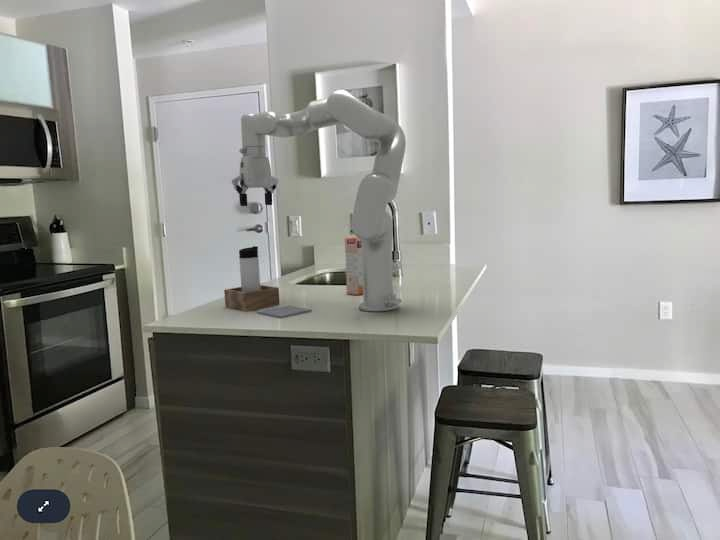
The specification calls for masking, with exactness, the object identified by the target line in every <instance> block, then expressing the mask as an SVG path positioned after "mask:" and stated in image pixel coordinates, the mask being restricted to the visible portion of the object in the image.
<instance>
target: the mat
mask: <svg viewBox="0 0 720 540" xmlns="http://www.w3.org/2000/svg"><path fill="white" fill-rule="evenodd" d="M312 310H313V309H310V308H306V307H300V306H293V305H289V304H288V305H283V306H279V307H273V308H270V309H269V308H268V309H266V310H259V311H257V314H258V315H264V316H268V317H273V318H277V319H278V318H279V319H284V318H288V317H292V316H297V315H302V314H307V313H311V312H313V311H312Z"/></svg>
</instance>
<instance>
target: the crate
mask: <svg viewBox="0 0 720 540" xmlns="http://www.w3.org/2000/svg"><path fill="white" fill-rule="evenodd" d="M260 289H261V290H259V291H253V292H247V293H246V292H242V289H241V286H238V287H233V288H231V287H230V288H225V289H224V303H225V308H227V307H229V308H228V309H232V308H233V309H232V310H236V311H238V310H239V311H242V312H246V313H248V312H252V311H253V312H254V311H257V310H262V309H266V308H268V309H269V308H272V307H273V308H274V307H276V306H281V303H280V290H279V287H277V286H270V285H263V284H260Z"/></svg>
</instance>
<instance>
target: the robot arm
mask: <svg viewBox="0 0 720 540" xmlns="http://www.w3.org/2000/svg"><path fill="white" fill-rule="evenodd" d="M240 124H241V125H240V126H241V127H240V129H241V148H239V154H242V156H241V157H240V162H239V175H238V176H236V177H235V178H233V179H231V184H232V186H233V187H234V190H235V191H236V192H237V194H238V195H239V205H240V206H241V207H247V206H248V194H247V193H246V192H247V191H248V189H251V188H252V189H253V188H254V189H255V188H256V189H257V188H263V190H264V204H265V206H272V205H273V193H274V191H275V190H276V188H277V185H278V182H279V180H278V179H277V178H276V177H274V176H272V167H271V162H270V159H269V157H268V156H267V153H266V151H267V149H266V136H272V137H277V138H283V139H284V138H289V137H290V138H291V137H294V136H299V135H304V134H307V133H309V132H313V131H316V130H318V129H322V128H323V129H324V128H327V127H332V126H338V125H341V124H342V125H344V126H345V127H347V128H348V129H350V130H351V131H352V132H354V133H355V134H357V135H359V136H360V137H362V138H363V139H365V140H368V141H372V142H376V143H377V145H378V149H377V151H376V154H375V157H374V162H373V168H372V170H371V171H372V172H371V173H369V174H367V175H365V176H364V177H363V178H362V180H361V181H360V183H359V186H358V188H357V193H356V197H355V201H354V202H355V203H354V208H353V213H352V217H351V230H352V232H353V234H354V236H356V237H358V238H359V239H361V240H362V275H363V294H362V295H363V302H360V303H359V304H358V309H359V310H360V311H364V312H386V311H393V310H396V309H398V308H399V305H400V304H402V299H401V298H398V297H397V295H396V293H394V280H393V279H394V276H393V230H394V229H393V228H394V225H393V224H394V223H393V219H392V216H391V214H390V213H389V212H388V210H387V205H388V204H389V203H391V202H392V201H393V200H394V199H395V198H396V196H397V193H398V187H399V181H400V177H401V173H402V168H403V167H402V166H403V161H404V157H405V153H406V152H405V151H406V147H407V146H406V135H405V132H404V130H403V128H402V127H401V125H400V124H399V123H398V122H397V121H396V120H395V119H394V118H392V117H390V116H389V115H387V114H385V113H382V112H380V111H377V110H375V109H374V108H372V107H371V106H369V105H367V104H366V103H364V102H363V101H362V100H361V98H360V97H359V96H358V95H357V94H355V93H352V92H351V91H348V90H346V89H337V90H335V91H333V92H332V93H330V94H329V95H328V97H325V98H321V99H317V100H311V101H310V102H308V104H307V105H306V107H305V108H304V109H301V110H298V111H294V112H290V113H284V114H283V113H281V112H280V113H279V112H276V111H268V110H267V111H264V112H259V113H245V114H242V115H241V117H240Z"/></svg>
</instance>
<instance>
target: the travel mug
mask: <svg viewBox="0 0 720 540" xmlns="http://www.w3.org/2000/svg"><path fill="white" fill-rule="evenodd" d="M238 254H239V256H238V257H239V271H240V273H239V274H240V285H241V286H240V287H241V289H242V292H246V293H247V292H253V291H259V290H261V289H260V285H261V277H260V262H259V247H258V246H255V245H254V246H251V247H245V248H242V249H239V250H238Z"/></svg>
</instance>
